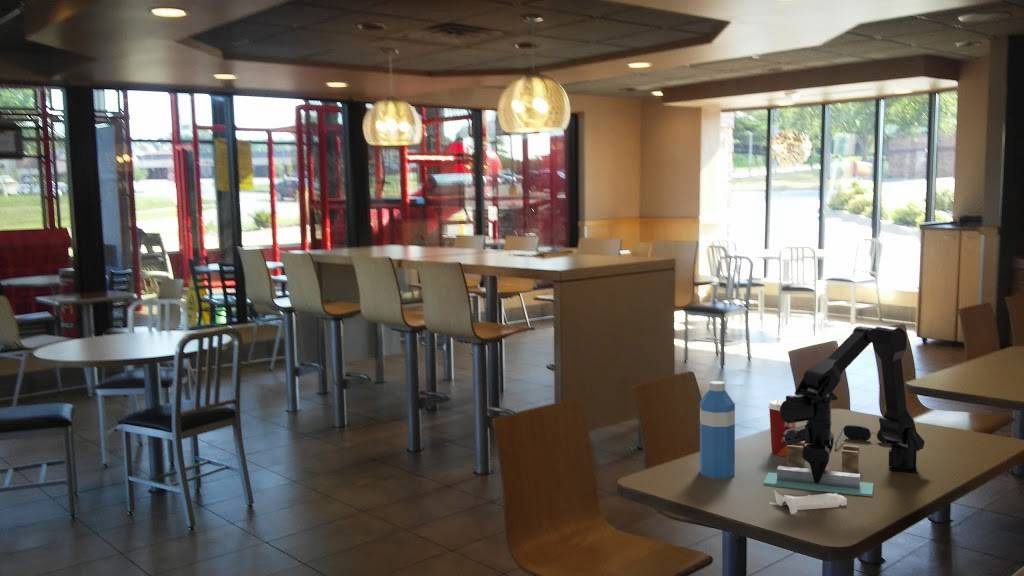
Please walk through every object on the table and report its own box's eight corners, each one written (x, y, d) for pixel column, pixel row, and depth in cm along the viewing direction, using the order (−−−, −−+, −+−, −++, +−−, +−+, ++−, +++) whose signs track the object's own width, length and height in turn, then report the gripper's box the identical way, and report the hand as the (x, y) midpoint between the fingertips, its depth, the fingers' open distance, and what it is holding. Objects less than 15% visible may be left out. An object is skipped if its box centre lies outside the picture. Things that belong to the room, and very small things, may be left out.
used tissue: (766, 503, 213) (766, 487, 213) (840, 501, 213) (840, 485, 213) (780, 518, 203) (780, 502, 202) (857, 516, 203) (857, 500, 202)
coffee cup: (791, 459, 247) (792, 407, 245) (763, 454, 252) (763, 403, 250) (801, 451, 253) (802, 401, 252) (774, 447, 258) (774, 398, 257)
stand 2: (858, 469, 236) (859, 446, 235) (857, 476, 230) (858, 452, 230) (843, 468, 237) (843, 444, 237) (841, 474, 232) (842, 450, 231)
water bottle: (737, 470, 238) (738, 380, 235) (731, 480, 229) (731, 387, 227) (703, 466, 242) (703, 378, 239) (696, 476, 233) (695, 384, 231)
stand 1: (804, 464, 242) (804, 441, 241) (802, 470, 236) (802, 447, 235) (789, 462, 243) (789, 440, 242) (787, 469, 238) (787, 445, 237)
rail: (859, 485, 221) (860, 474, 221) (859, 489, 219) (859, 477, 218) (778, 476, 229) (778, 465, 229) (776, 480, 227) (777, 469, 226)
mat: (873, 485, 223) (873, 483, 223) (872, 496, 215) (872, 494, 215) (768, 474, 233) (768, 472, 233) (763, 484, 225) (763, 482, 225)
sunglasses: (905, 446, 258) (905, 430, 257) (898, 465, 246) (898, 449, 245) (844, 439, 267) (843, 423, 266) (834, 457, 255) (834, 441, 254)
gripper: (790, 407, 234) (790, 464, 236) (781, 424, 217) (781, 485, 219) (834, 410, 230) (833, 468, 231) (828, 428, 213) (828, 490, 214)
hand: (818, 477), depth 224 cm, fingers open, 9 cm apart
